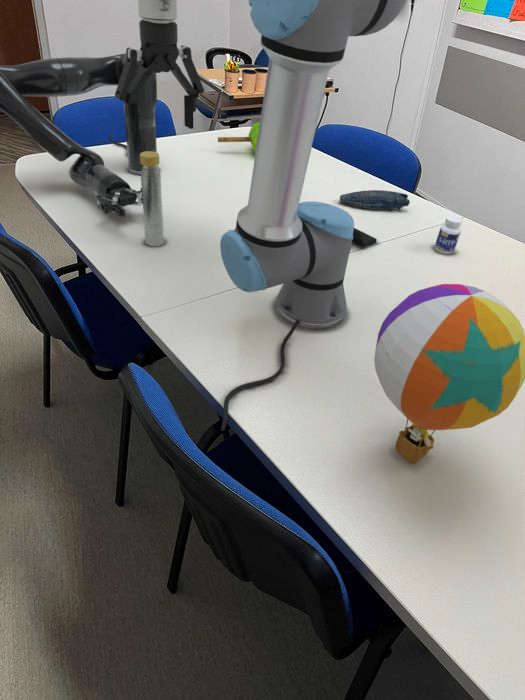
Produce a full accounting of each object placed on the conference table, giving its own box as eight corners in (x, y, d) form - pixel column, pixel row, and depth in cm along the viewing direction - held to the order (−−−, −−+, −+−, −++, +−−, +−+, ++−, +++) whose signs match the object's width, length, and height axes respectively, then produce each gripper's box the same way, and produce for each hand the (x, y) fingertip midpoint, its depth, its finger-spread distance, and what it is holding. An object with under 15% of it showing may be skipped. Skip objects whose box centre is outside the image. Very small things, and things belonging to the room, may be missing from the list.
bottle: (156, 236, 134) (151, 151, 121) (167, 242, 132) (163, 156, 119) (141, 241, 132) (135, 155, 118) (153, 248, 129) (147, 160, 116)
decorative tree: (215, 117, 188) (295, 117, 193) (215, 147, 195) (292, 146, 200) (221, 131, 174) (307, 131, 180) (221, 163, 181) (304, 161, 186)
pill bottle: (433, 251, 139) (442, 220, 133) (435, 243, 143) (444, 213, 137) (453, 256, 138) (464, 225, 132) (454, 247, 142) (465, 217, 136)
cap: (151, 158, 122) (150, 149, 120) (163, 164, 120) (162, 155, 118) (136, 162, 119) (135, 153, 118) (148, 167, 117) (147, 158, 116)
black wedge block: (381, 233, 141) (372, 211, 133) (369, 255, 140) (359, 235, 132) (344, 225, 147) (334, 203, 139) (333, 246, 146) (321, 226, 138)
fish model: (408, 214, 157) (412, 198, 153) (339, 207, 158) (341, 191, 154) (406, 206, 162) (410, 190, 159) (339, 199, 163) (341, 183, 160)
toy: (323, 444, 83) (359, 283, 64) (398, 394, 94) (448, 243, 75) (425, 531, 72) (504, 368, 53) (497, 463, 83) (584, 307, 64)
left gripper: (84, 178, 135) (111, 201, 125) (134, 170, 142) (163, 190, 133) (87, 206, 140) (114, 230, 130) (136, 196, 147) (164, 218, 137)
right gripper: (106, 23, 95) (118, 142, 108) (220, 22, 108) (218, 128, 121) (90, 17, 100) (103, 132, 113) (201, 16, 112) (201, 120, 126)
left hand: (139, 210), depth 131 cm, fingers open, 8 cm apart
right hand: (162, 130), depth 117 cm, fingers open, 13 cm apart
